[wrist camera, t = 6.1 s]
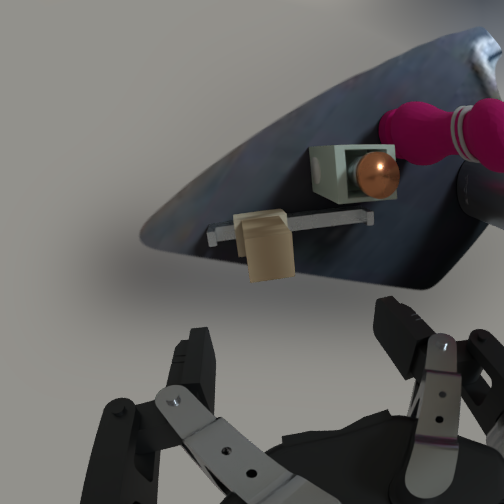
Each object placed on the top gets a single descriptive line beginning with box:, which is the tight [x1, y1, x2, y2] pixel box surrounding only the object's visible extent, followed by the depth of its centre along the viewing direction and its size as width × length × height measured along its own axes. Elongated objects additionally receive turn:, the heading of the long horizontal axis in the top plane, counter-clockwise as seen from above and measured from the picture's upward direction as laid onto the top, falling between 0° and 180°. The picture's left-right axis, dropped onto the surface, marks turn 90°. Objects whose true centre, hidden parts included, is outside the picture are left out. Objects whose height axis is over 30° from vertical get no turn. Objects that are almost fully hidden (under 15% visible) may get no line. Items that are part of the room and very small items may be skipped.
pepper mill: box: [379, 98, 504, 173], centre depth 19 cm, size 7×7×20 cm
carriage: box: [233, 209, 295, 283], centre depth 25 cm, size 5×4×10 cm
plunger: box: [345, 152, 400, 199], centre depth 22 cm, size 4×4×6 cm
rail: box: [207, 205, 374, 247], centre depth 29 cm, size 18×2×4 cm, turn 97°
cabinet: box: [309, 144, 397, 204], centre depth 26 cm, size 6×5×8 cm
